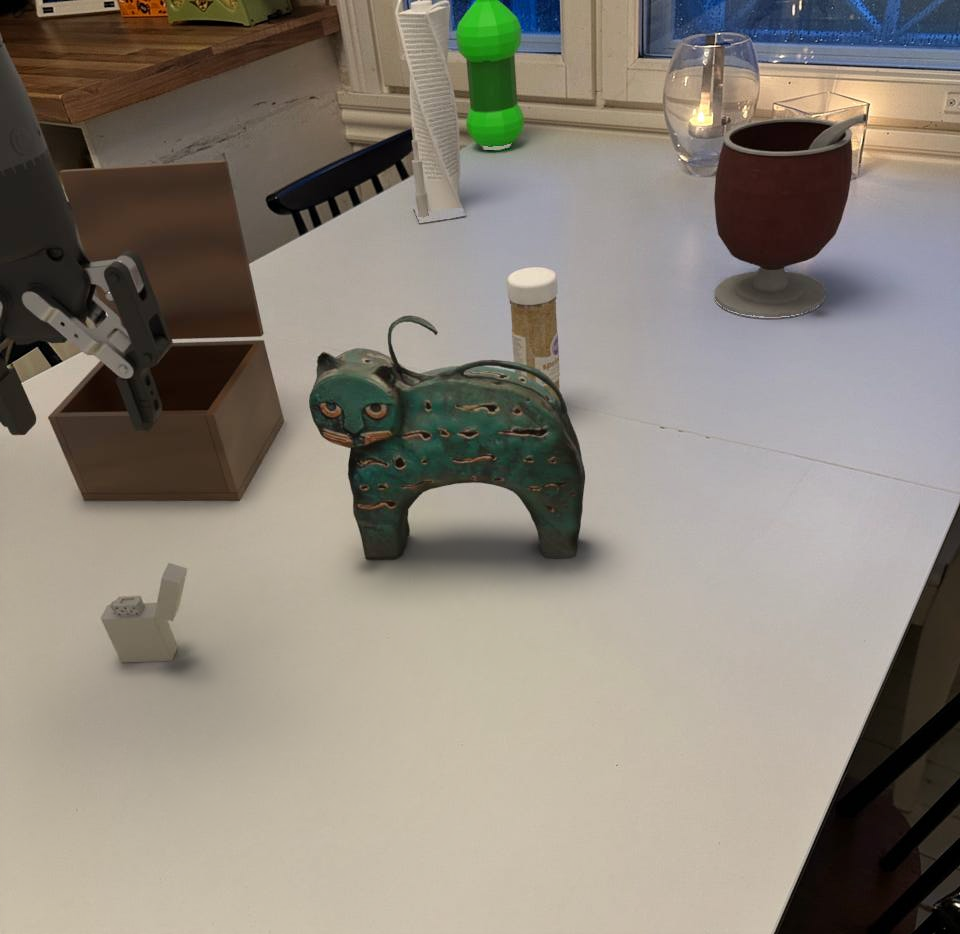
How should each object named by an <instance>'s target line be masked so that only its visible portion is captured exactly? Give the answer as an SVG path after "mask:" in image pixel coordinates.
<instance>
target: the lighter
mask: <svg viewBox="0 0 960 934" xmlns="http://www.w3.org/2000/svg"><path fill="white" fill-rule="evenodd" d="M187 573H188V568H187V567H185V566H182V565H178V564H174V563H172V562H168V563H167V565H166V566H165V569H164V572H163V573H162V575H161V579H160V585H159V590H158V595H157V601H156V602H144V601H143V598H142V596H141V595H126V596H118V597H117V598H116V599H115V600H114V601H112V602H111V603H110V604H108V605H106V607H105V608H104V611H103V613H102V614H101V616H100V621H101V622H102V625H103V627H104V630H105V632H106V633H107V636H108V638H109V640H110V642H111V644H112V646H113V649H114V651H115V653H116V655H117V657H118V660H119V662H120V663H122V664H123V663H149V662H151V663H152V662H171V661H173V660H174V658H175V655H176V653H177V651H178V648H179V645H178V643H177V640H176V638H175V636H174V633H173V630H172V628H171V626H170V624H169V621H170V622H174V620H175V618H176V616H177V613H178V611H179V609H180V604H181V602H182V601H181V600H182V596H183V591H184V586H185V582H186V579H187Z"/></svg>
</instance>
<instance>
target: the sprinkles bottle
mask: <svg viewBox="0 0 960 934" xmlns="http://www.w3.org/2000/svg"><path fill="white" fill-rule="evenodd" d="M506 288H507V289H506V291H507V298H508V301H509V304H510V314H511V315H510V318H511V338H512V339H511V340H512V354H513V362H515V363H520V364H524V365H527V366H530V367H533V368H536V369H538V370H540V371H541V372H543V373H544V374H545V375H547V376H548V377H549V378H550V379H551V380H552V381H553V382H554V383H555V385H556V386H557V388H558V389H559V391H560V389H561V388H560V386H561V385H560V376H561V374H560V373H561V372H560V370H561V369H560V352H559V350H560V349H559V333H558V321H557V320H558V318H557V302H556V301H557V296H558V277H557V274H556V273H555V271H553V270H552V269H550V268H546V267H539V266H538V267H536V266H534V267H526V268H525V267H524V268H521V269H518V270H515V271H514V272H511V274H509V275H508V277H507V280H506ZM514 372H517V373H519V374H522V375H524V376H527V377H528V378H530V379H532V380H533V381H535V382H537V383H538V384H540V385H542V386H543V387H545V388H546V389H547V390H548V391H549V392H550V393H551V394H553V395H554V396H555V397H556V398H557V399H558V401H559V398H558V397H557V395H556V393H555V392H554V391H553V390H552V389H551V388H550V387H549V386H548V385H547V384H545V383H544V382H543V381H541V380H540V379H539V378H537V377H535V376H533V375H531V374H529V373H527V372H524V371H519V370H514ZM560 392H561V391H560ZM559 402H560V401H559Z"/></svg>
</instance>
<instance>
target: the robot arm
mask: <svg viewBox="0 0 960 934" xmlns="http://www.w3.org/2000/svg"><path fill="white" fill-rule="evenodd" d="M3 39H4V38H3V36H2V33H1V32H0V423H1V426H3V427H4V428H7V429H8V432H9V434H10V435H11V436H25V435H27V434H28V432H29V431H30V430H31V429H32V428H33V427H34V426H35V425H36V424H37V415H36V413H35V410H34V408H33V405H32V403H31V401H30V399H29V397H28V394H27V393H26V391H25V388H24V387H23V386H24V385H23V384H22V381H21V379H20V377H19V374H18V372H17V370H16V368H15V367H9V368H8V366H7V365H8V363H9V359H10V355H11V353H12V348H13V344H14V343H15V345H16V346H22V345H30V344H33V343H36V342H45V343H49V344H65V343H66V342H67V341H69V342H70V343H71V344H72V345H74V346H75V347H76V348H77V349H78V350H79V351H80V352H81V353H83V354H85V355H87V356H94V357H95V358H97V359H98V360H99V362H100V361H102V362H103V363H104V364H105V365H106V366H107V367H109V368H110V369H111V370H112V371H113V372H114V373H116V374H117V375H118V376H119V377H118V378H117V379H116V382H117V385H118V387H119V390H120V393H121V395H122V398H123V401H124V403H125V406H126V409H127V411H128V414H129V417H130V419H131V422H132V425H133V427H134V429H135V431H137V432H147V431H149V430H150V429H151V428H152V426H153V425H154V424H155V422H156V421H157V419H158V416H159V414H160V413H161V412H162V402H161V400H160V397H159V394H158V391H157V388H156V385H155V382H154V380H153V377H152V374H151V371H150V368H152V367H155V366H156V365H157V364H158V362H159V361H160V360H161V359H162V358H163V356H164V355H165V354H166V353H167V352H168V350H169V349H170V348H171V347H172V344H173V343H174V342H173V339H172V338H171V335H170V333H169V330H168V328H167V325H166V323H165V320H164V317H163V315H162V312H161V310H160V307H159V304H158V302H157V299H156V297H155V294H154V292H153V289H152V286H151V284H150V281H149V279H148V276H147V273H146V271H145V268H144V266H143V263H142V260H141V258H140V257H139V255H138V254H136V253H135V252H133V251H125V252H124V253H122V254H121V255H120V256H119V257H118V258H117V259H113V260H105V261H97V262H92V261H91V260H90V259H89V258H88V257H87V255H86V254H85V252H84V249H83V248H82V247H81V245H80V243H79V240H78V235H77V234H78V233H77V227H76V224H75V220H74V217H73V214H72V211H71V208H70V204H69V201H68V198H67V195H66V192H65V190H64V189H63V188H64V187H63V186H62V185H63V184H62V183H61V180H60V178H59V177H60V176H59V174H58V172H57V169H56V167H55V163H54V161H53V157H52V155H51V152H50V150H49V146H48V144H47V141H46V138H45V136H44V134H43V131H42V128H41V125H40V122H39V120H38V117H37V114H36V111H35V109H34V106H33V103H32V100H31V98H30V96H29V93H28V91H27V89H26V87H25V84H24V82H23V80H22V78H21V76H20V74H19V72H18V70H17V68H16V66H15V64H14V62H13V60H12V58H11V56H10V53H9V51H8V49H7V47H6V44H5V43H4V42H3ZM96 285H97V286H99V287H101V288H102V289H103V290H104V292H105V297H106V299H107V300H109V301H112V300H113V301H114V302H115V304H116V307H117V309H118V311H119V314H120V316H121V319H122V321H123V323H124V326H125V328H126V329H125V328H124V327H123V326H122V324H121V320H120V318H119V316H118V315H117V314H115V313H114V312H113V311H112V310H111V309H110V308H109V307H108V306H106V305H105V304H104V303H103V302H102V301H101V300H100V299H99V297H98V296H97V295H95V292H96ZM87 318H88V319H89V320H91V321H92V322H93V324H94V326H95V328H90V327H88V326H87V325H85V324H86V321H87Z"/></svg>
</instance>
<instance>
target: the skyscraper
mask: <svg viewBox="0 0 960 934" xmlns="http://www.w3.org/2000/svg"><path fill="white" fill-rule="evenodd" d="M401 1H402V0H397V3H396V7H395V12H394V17H395V20H396V23H397V28H398V32H399V36H400V40H401V44H402V48H403V49H402V50H403V52H404V53H403V54H404V57H405V60H406V64H407V69H408V72H409V107H410V109H409V110H410V118H411V119H410V120H411V127H410V128H411V135H412V140H411V146H412V147H411V148H412V155H413V160H411V164H412V174H413V180H414V187H415V193H414V196H415V203H416V206H417V210H418V217H423V218H424V217H426V216H429V213H428V211H429V212H431V211H438V210H443V209H451V208H462V207H463V204H462V202H461V200H460V183H461V181H460V178H461V142H460V141H461V140H460V125H459V123H460V122H459V115H458V107H457V101H456V96H455V91H454V86H453V83H452V77H451V75H450V71H449V68H448V56H449V39H450V38H449V36H450V19H451V18H450V17H451V4H450V1H449V0H440V1H438V2H436V3H434V4H433V3H432V2H433V1H432V0H415V1H413V2H411V3H410V8H409V9H406V10H403V11H400V12H399V9H400V5H401ZM458 197H459V198H458ZM413 212H414V211H413ZM414 214H415V212H414ZM415 218H416V220H417V221H418V219H417V217H416V216H415ZM463 218H467V215H466V216H463V217H457V218H451V219H444V220H438V221H431V222H425V223H419V222H418V225H424V224H430V223H436V222H443V221H448V220H449V221H450V220H456V219H463Z"/></svg>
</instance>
